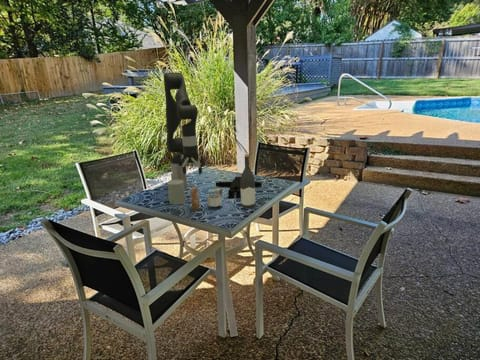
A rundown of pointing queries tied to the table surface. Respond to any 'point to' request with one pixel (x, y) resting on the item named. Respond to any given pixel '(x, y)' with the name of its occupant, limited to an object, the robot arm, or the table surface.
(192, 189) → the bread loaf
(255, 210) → the table surface
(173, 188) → the speckled stone cylinder
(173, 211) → the table surface
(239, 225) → the table surface
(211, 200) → the mug
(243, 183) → the wine bottle
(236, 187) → the toy
